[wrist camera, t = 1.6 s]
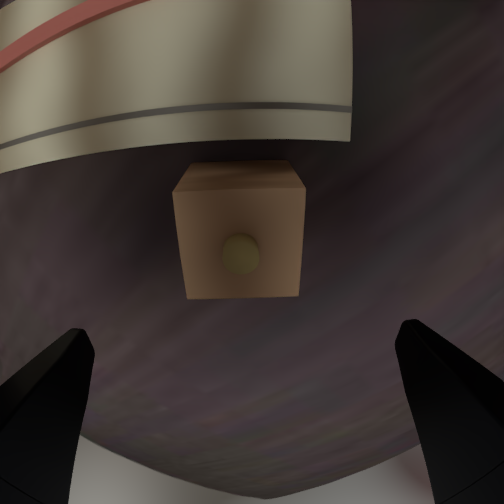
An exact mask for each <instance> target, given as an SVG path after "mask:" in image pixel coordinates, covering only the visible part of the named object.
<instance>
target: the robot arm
mask: <svg viewBox="0 0 504 504" xmlns="http://www.w3.org/2000/svg"><path fill="white" fill-rule="evenodd" d="M395 350H396V354H397V358H398V362H399V367H400V371H401V376H402V380H403V385H404V389H405V393H406V396H407V400H408V403H409V406H410V409H411V412H412V416H413V419H414V422H415V426H416V429H417V432H418V436H419V440H420V443H421V447H422V451H423V454H424V458H425V462H426V466H427V470H428V474H429V478H430V483H431V487H432V491H433V496H434V501H435V504H504V382H503V380H501V379H500V378H499V377H497V376H496V375H495V374H493V373H492V372H491V371H489V370H488V369H486V368H485V367H484V366H482V365H481V364H480V363H478V362H477V361H476V360H474V359H473V358H471V357H470V356H469V355H467V354H466V353H464V352H463V351H462V350H460V349H459V348H457V347H456V346H455V345H453V344H452V343H450V342H449V341H448V340H446V339H445V338H443V337H442V336H440V335H439V334H438V333H436V332H435V331H433V330H432V329H430V328H429V327H428V326H426V325H425V324H423V323H422V322H420V321H419V320H417V319H411V320H405V321H404V322H403V323H402V325H401V327H400V330H399V333H398V335H397V338H396V340H395ZM94 357H95V352H94V348H93V346H92V344H91V341H90V339H89V337H88V335H87V333H86V331H85V330H84V329H77V328H72V329H70V330H69V331H67V332H66V333H65V334H63V335H62V336H61V337H60V338H58V339H57V340H56V341H55V342H53V343H52V344H51V345H49V346H48V347H47V348H46V349H44V350H43V351H42V352H41V353H39V354H38V355H37V356H36V357H35V358H33V359H32V360H31V361H30V362H28V363H27V364H26V365H25V366H24V367H22V368H21V369H20V370H19V371H17V372H16V373H15V374H14V375H13V376H11V377H10V378H9V379H8V380H7V381H5V382H4V383H3V384H2V385H1V386H0V504H68V500H69V492H70V485H71V478H72V473H73V466H74V461H75V455H76V450H77V445H78V440H79V435H80V431H81V426H82V422H83V417H84V413H85V409H86V405H87V400H88V394H89V387H90V381H91V375H92V369H93V363H94Z"/></svg>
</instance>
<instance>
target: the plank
mask: <svg viewBox="0 0 504 504" xmlns="http://www.w3.org/2000/svg"><path fill="white" fill-rule="evenodd" d="M85 1H87V0H16V1H14V2H12V3H10V4H9V5H7V6H5V7H3V8H2V9H0V51H2V50H3V49H4V48H6V47H7V46H9V45H10V44H11V43H13V42H14V41H16V40H17V39H19V38H20V37H22V36H23V35H25V34H26V33H28V32H30V31H31V30H33V29H34V28H36V27H38V26H39V25H41V24H43V23H45V22H46V21H48V20H50V19H52V18H53V17H55V16H57V15H59V14H61V13H63V12H65V11H67V10H68V9H70V8H72V7H74V6H77V5H79V4H81V3H83V2H85ZM352 75H353V50H352V14H351V0H150V1H146V2H143V3H140V4H137V5H134V6H131V7H128V8H125V9H123V10H120V11H117V12H115V13H112V14H110V15H107V16H105V17H102V18H100V19H97V20H95V21H93V22H90V23H88V24H86V25H84V26H82V27H79V28H77V29H75V30H73V31H71V32H69V33H67V34H65V35H63V36H61V37H59V38H57V39H55V40H54V41H52V42H50V43H48V44H46V45H44V46H43V47H41V48H39V49H37V50H36V51H34V52H32V53H31V54H29V55H27V56H26V57H24V58H23V59H21V60H20V61H18V62H16V63H15V64H13V65H12V66H10V67H9V68H7V69H6V70H5V71H3V72H2V73H0V173H3V172H7V171H11V170H15V169H19V168H23V167H27V166H31V165H35V164H40V163H44V162H49V161H54V160H59V159H64V158H69V157H74V156H80V155H86V154H91V153H98V152H104V151H111V150H118V149H125V148H133V147H141V146H150V145H160V144H170V143H182V142H196V141H213V140H238V139H307V140H331V141H348V142H350V134H351V113H352Z"/></svg>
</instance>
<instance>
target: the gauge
mask: <svg viewBox="0 0 504 504" xmlns="http://www.w3.org/2000/svg"><path fill="white" fill-rule="evenodd" d="M172 195H173V203H174V212H175V220H176V228H177V235H178V243H179V250H180V257H181V263H182V270H183V276H184V283H185V289H186V295H187V299H230V298H263V297H288V296H298V295H299V284H300V272H301V259H302V246H303V232H304V217H305V199H306V187H305V186H304V184H303V183H302V181H301V180H300V178H299V177H298V175H297V174H296V172H295V171H294V169H293V168H292V166H291V165H290V163H289V162H288V160H246V161H217V162H198V163H191V164H190V166H189V167H188V169H187V170H186V172H185V173H184V175H183V176H182V178H181V179H180V181H179V183H178V184H177V186H176V187H175V189H174V190H173V192H172Z"/></svg>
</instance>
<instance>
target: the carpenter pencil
mask: <svg viewBox="0 0 504 504" xmlns="http://www.w3.org/2000/svg"><path fill="white" fill-rule="evenodd" d="M146 1H150V0H87V1H85V2H83V3H81V4H79V5H77V6H74V7H72V8H70V9H68V10H67V11H65V12H63V13H61V14H59V15H57V16H55V17H53V18H52V19H50V20H48V21H46V22H45V23H43V24H41V25H39V26H38V27H36V28H34V29H33V30H31V31H30V32H28V33H26V34H25V35H23V36H22V37H20V38H19V39H17V40H16V41H14V42H13V43H11V44H10V45H9V46H7V47H6V48H4V49H3V50H2V51H0V73H2V72H3V71H5V70H6V69H7V68H9V67H10V66H12V65H13V64H15V63H16V62H18V61H20V60H21V59H23V58H24V57H26V56H27V55H29V54H31V53H32V52H34V51H36V50H37V49H39V48H41V47H43V46H44V45H46V44H48V43H50V42H52V41H54V40H55V39H57V38H59V37H61V36H63V35H65V34H67V33H69V32H71V31H73V30H75V29H77V28H79V27H82V26H84V25H86V24H88V23H90V22H93V21H95V20H97V19H100V18H102V17H105V16H107V15H110V14H112V13H115V12H117V11H120V10H123V9H125V8H128V7H131V6H134V5H137V4H140V3H143V2H146Z"/></svg>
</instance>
